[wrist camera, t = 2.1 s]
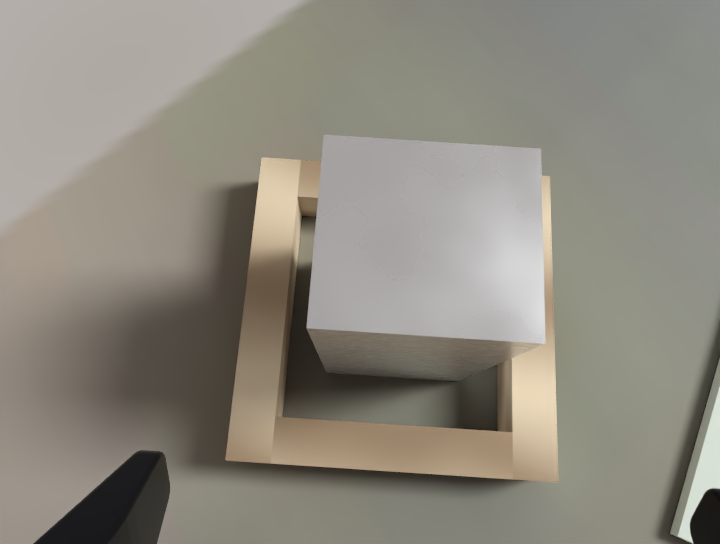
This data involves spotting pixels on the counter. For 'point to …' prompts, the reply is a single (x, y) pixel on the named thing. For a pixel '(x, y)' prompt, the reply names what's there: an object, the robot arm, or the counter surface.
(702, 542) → the robot arm
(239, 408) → the oak socket frame
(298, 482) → the counter surface
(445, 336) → the steel cap block
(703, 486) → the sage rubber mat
